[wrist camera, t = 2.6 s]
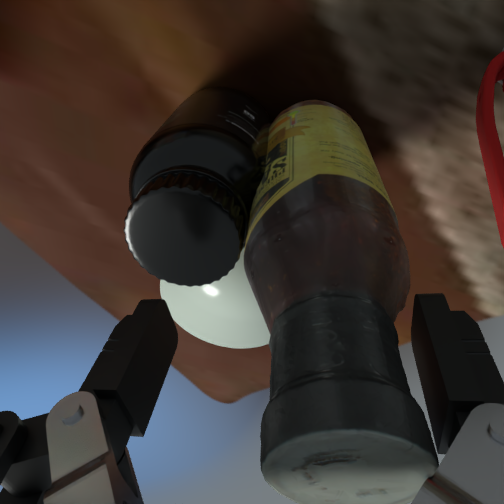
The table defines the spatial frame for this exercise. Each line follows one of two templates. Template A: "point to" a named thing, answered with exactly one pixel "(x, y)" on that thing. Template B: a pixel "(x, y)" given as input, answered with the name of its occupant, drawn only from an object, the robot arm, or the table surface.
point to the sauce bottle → (333, 318)
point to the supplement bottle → (197, 187)
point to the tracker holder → (492, 137)
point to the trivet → (219, 310)
